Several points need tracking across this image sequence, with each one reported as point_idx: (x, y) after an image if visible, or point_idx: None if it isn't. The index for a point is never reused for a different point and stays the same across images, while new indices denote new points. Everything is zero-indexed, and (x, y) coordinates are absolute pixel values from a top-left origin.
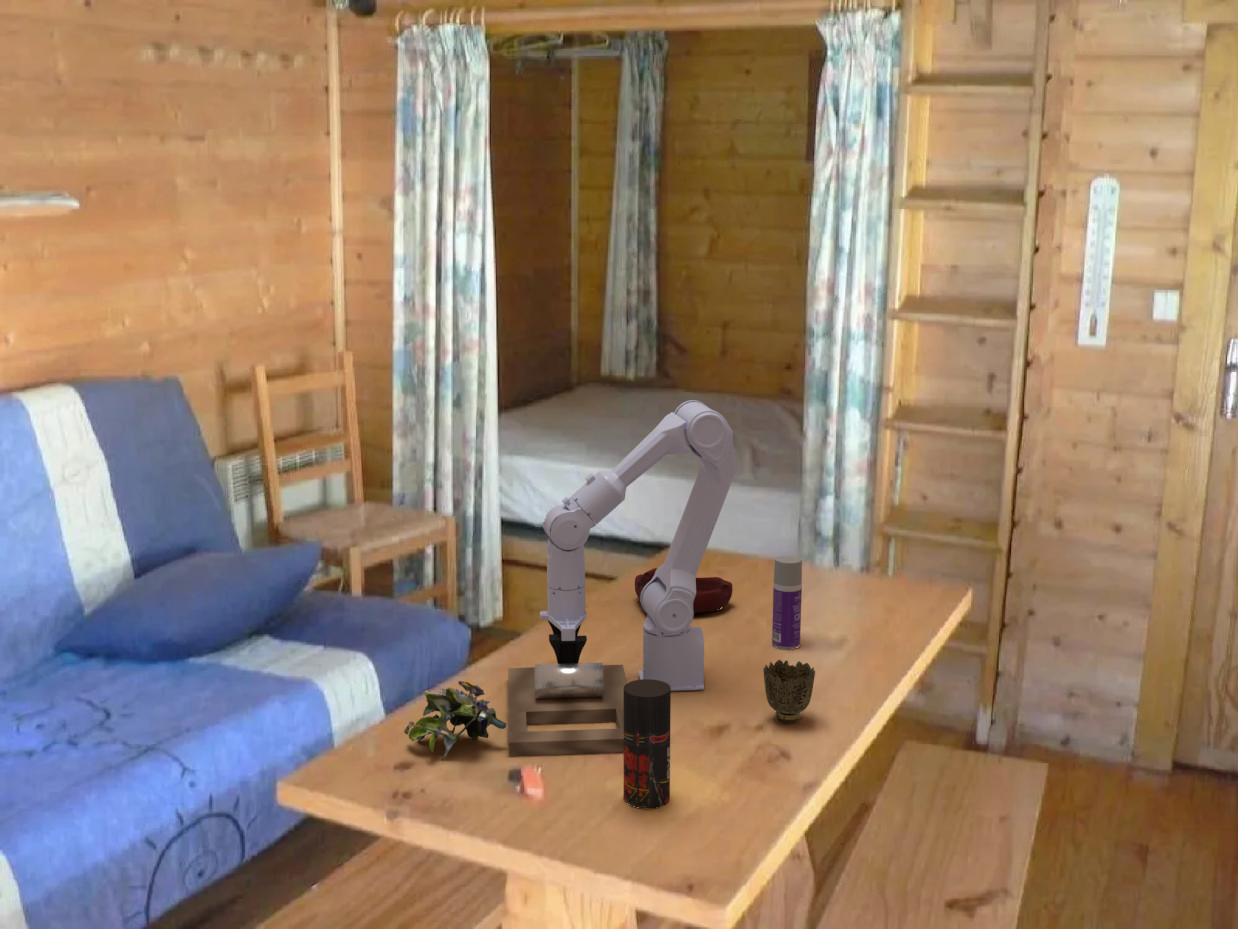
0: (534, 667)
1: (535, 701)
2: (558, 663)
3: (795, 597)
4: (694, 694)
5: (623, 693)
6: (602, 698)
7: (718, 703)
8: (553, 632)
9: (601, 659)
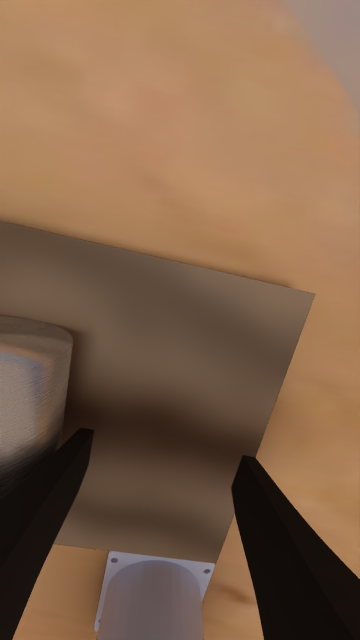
0: (23, 367)
1: (2, 314)
2: (23, 480)
3: None
4: (85, 604)
5: None
6: None
7: (35, 624)
8: (320, 590)
9: (323, 512)
